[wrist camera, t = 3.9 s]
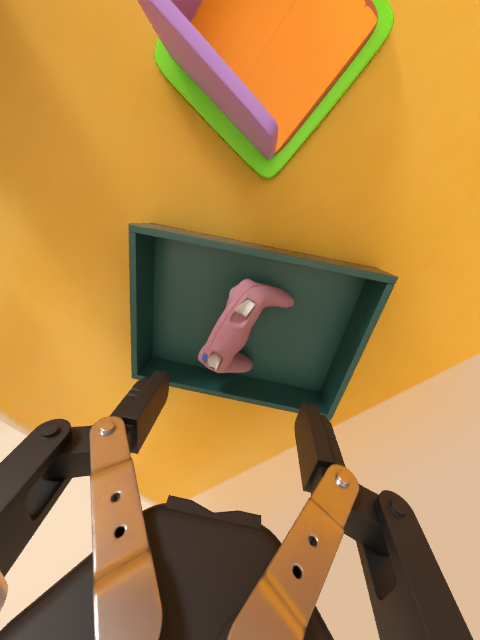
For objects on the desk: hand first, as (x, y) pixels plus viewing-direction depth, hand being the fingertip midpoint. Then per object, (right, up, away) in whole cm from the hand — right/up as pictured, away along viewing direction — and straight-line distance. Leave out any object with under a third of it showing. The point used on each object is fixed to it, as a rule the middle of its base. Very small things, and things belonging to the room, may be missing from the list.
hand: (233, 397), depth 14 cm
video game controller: (+1, +5, +11) cm, 12 cm away
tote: (+1, +5, +11) cm, 12 cm away
